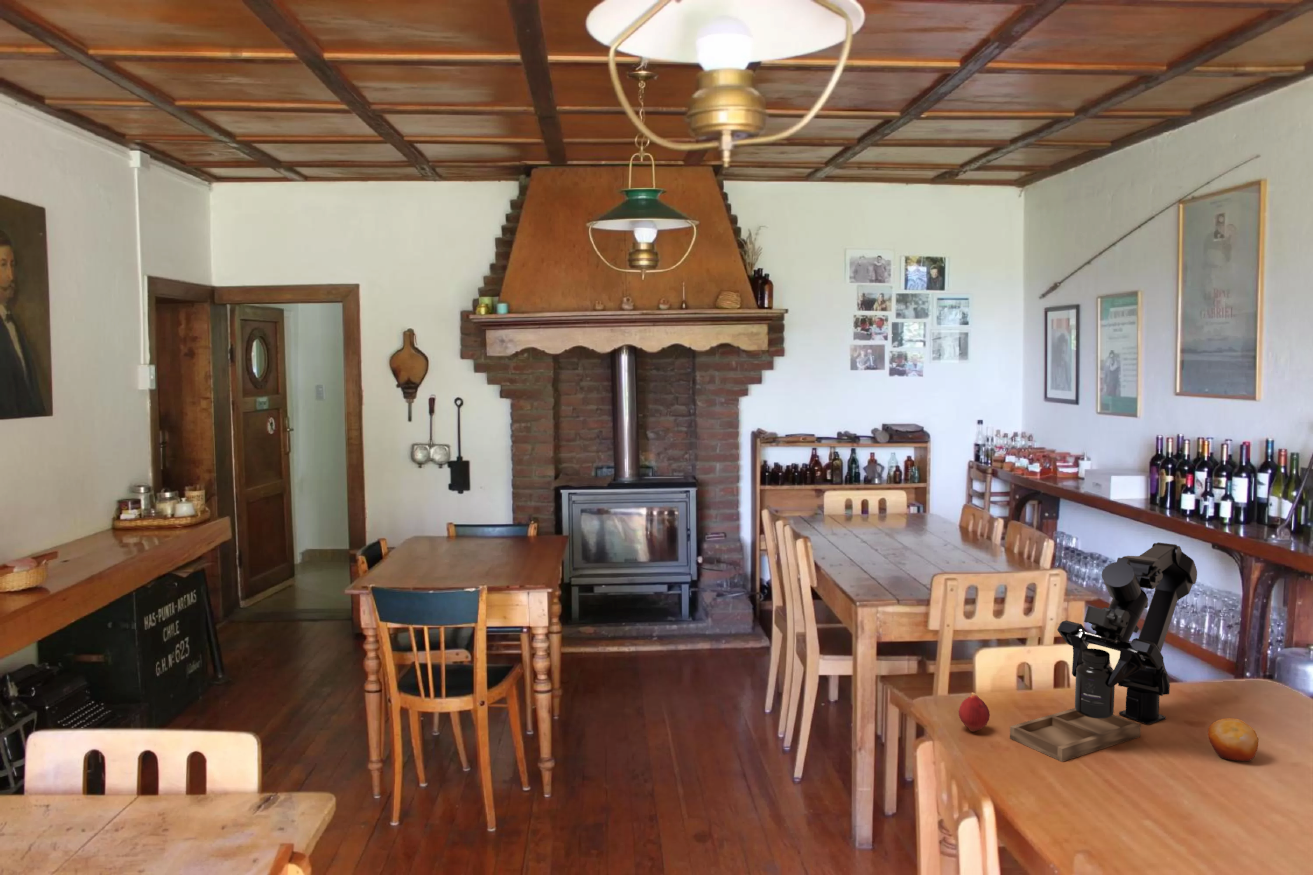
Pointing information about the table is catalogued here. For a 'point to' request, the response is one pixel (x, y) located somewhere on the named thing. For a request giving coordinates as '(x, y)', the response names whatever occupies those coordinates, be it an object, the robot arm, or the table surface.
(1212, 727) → the fruit
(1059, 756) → the holder
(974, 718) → the onion
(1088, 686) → the supplement bottle
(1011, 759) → the table surface
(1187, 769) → the table surface
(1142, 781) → the table surface
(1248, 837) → the table surface
